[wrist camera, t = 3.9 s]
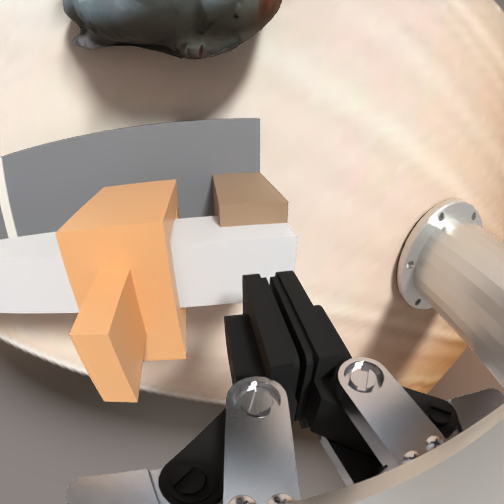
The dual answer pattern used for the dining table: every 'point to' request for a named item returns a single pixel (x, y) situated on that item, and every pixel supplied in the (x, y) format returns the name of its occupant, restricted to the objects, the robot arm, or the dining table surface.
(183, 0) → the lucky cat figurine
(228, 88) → the dining table surface
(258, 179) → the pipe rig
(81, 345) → the orange stepped block
